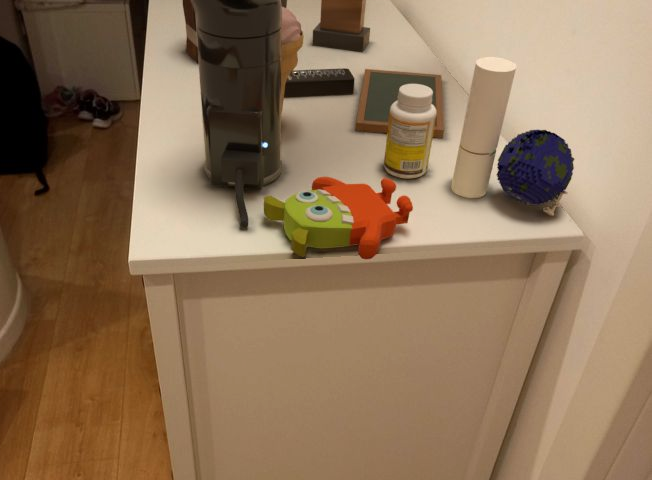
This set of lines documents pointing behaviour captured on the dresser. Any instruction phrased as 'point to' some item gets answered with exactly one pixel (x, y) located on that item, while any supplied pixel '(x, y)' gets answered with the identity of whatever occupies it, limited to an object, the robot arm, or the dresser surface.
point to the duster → (342, 25)
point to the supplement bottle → (410, 132)
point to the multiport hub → (319, 82)
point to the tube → (482, 125)
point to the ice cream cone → (289, 46)
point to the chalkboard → (393, 98)
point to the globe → (536, 168)
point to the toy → (339, 215)
